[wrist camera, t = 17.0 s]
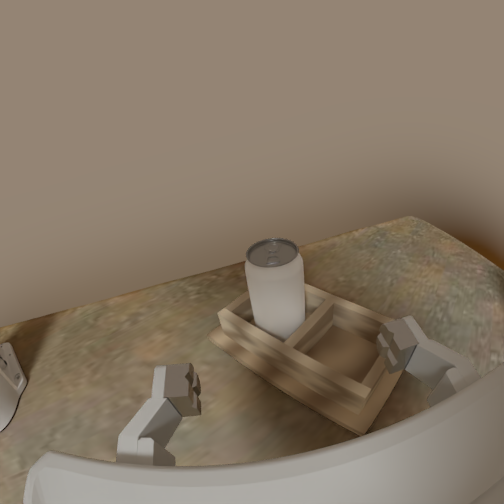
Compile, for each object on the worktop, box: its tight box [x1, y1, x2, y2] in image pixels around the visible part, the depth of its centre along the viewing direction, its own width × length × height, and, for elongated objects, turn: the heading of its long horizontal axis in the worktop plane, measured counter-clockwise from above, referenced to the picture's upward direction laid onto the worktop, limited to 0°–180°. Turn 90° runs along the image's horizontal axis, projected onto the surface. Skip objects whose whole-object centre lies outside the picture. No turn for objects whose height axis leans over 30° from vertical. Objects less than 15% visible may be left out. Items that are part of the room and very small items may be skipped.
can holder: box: [207, 283, 404, 436], centre depth 32 cm, size 24×14×5 cm, turn 46°
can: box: [245, 238, 305, 343], centre depth 33 cm, size 6×6×12 cm
